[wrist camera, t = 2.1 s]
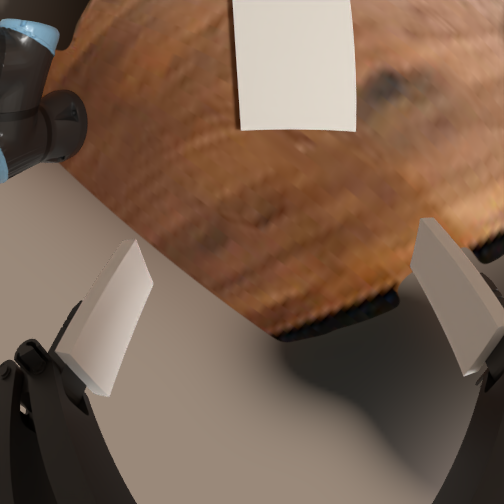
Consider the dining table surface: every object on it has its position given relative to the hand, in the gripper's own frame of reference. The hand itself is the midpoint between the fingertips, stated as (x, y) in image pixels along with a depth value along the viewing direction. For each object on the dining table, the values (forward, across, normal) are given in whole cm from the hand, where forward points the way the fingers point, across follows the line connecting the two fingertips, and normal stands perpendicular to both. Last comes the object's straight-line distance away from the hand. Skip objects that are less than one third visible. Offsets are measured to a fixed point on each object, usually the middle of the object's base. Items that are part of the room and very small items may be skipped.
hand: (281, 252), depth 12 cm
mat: (+36, +5, +12) cm, 38 cm away
